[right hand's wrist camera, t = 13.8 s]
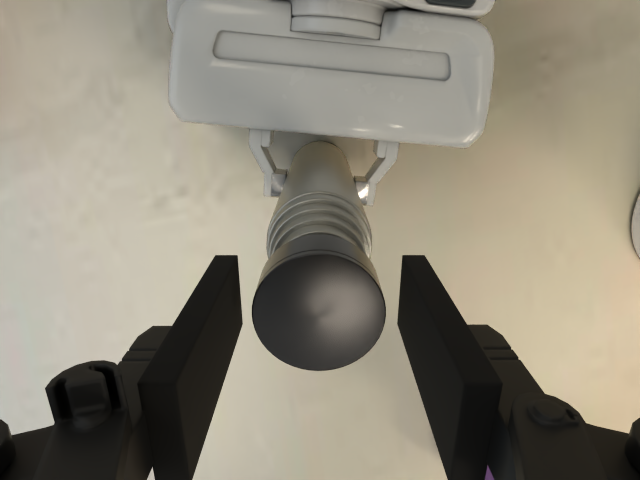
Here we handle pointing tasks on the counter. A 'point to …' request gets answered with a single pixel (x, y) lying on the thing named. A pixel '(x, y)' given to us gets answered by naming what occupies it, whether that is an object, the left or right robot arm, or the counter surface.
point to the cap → (318, 303)
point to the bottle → (319, 200)
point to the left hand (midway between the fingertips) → (319, 199)
